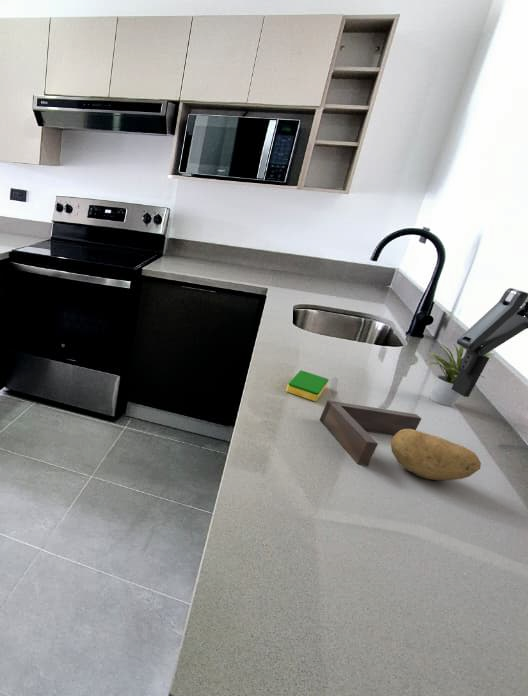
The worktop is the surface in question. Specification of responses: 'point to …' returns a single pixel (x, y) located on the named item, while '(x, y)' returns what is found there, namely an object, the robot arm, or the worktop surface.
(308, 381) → the dish sponge
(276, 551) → the worktop surface
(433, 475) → the potato
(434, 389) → the house plant
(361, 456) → the wooden corner bracket
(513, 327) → the robot arm
